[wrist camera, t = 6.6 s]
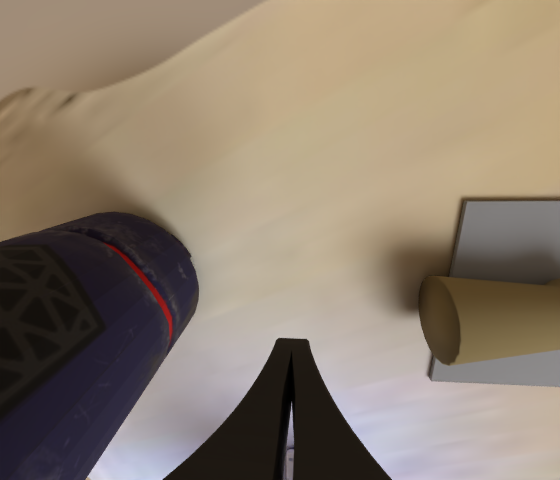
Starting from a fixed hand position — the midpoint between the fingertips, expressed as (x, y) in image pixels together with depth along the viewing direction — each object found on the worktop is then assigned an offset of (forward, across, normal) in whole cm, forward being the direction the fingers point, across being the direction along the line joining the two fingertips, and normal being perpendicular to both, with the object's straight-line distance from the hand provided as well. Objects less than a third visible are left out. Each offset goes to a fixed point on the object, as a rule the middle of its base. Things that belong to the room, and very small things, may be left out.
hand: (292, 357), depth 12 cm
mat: (+10, -18, +3) cm, 21 cm away
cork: (+8, -10, +3) cm, 13 cm away
